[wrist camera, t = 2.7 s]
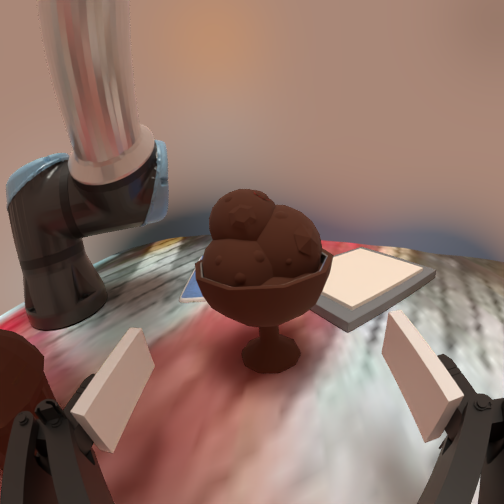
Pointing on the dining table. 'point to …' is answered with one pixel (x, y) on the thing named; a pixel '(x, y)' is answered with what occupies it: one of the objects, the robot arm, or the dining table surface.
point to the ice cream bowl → (262, 272)
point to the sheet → (365, 277)
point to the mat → (371, 309)
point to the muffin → (19, 383)
